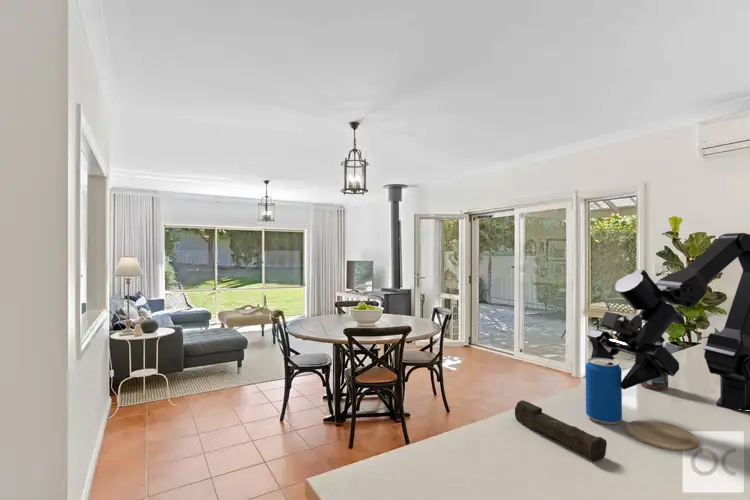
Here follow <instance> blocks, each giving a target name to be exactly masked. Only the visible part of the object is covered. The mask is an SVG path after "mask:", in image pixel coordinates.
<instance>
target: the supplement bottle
mask: <svg viewBox="0 0 750 500" xmlns="http://www.w3.org/2000/svg"><path fill="white" fill-rule="evenodd" d="M655 345H659V346H662V347H664V342H663V343H658V342H657V343H656V344H655ZM666 375H667V374H666ZM639 385H641V386H642V387H643V388H647V389H650V390H655V391H664V390H667V389H668V388H669V375H667V376H666V377H658V378H655V379H652V380H649V381H645V382H643V383H640V384H639Z"/></svg>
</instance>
